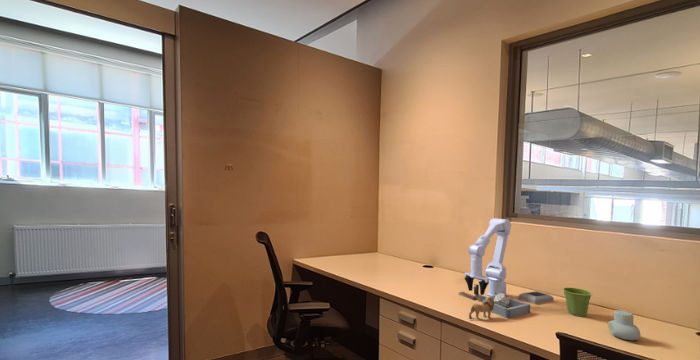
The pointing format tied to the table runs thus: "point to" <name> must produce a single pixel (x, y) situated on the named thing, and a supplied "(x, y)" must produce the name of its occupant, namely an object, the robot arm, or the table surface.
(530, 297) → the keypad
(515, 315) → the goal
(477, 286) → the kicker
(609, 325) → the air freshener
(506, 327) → the table surface
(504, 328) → the table surface
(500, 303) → the grey rock
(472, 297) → the rail
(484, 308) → the lion figurine
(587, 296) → the plant pot
